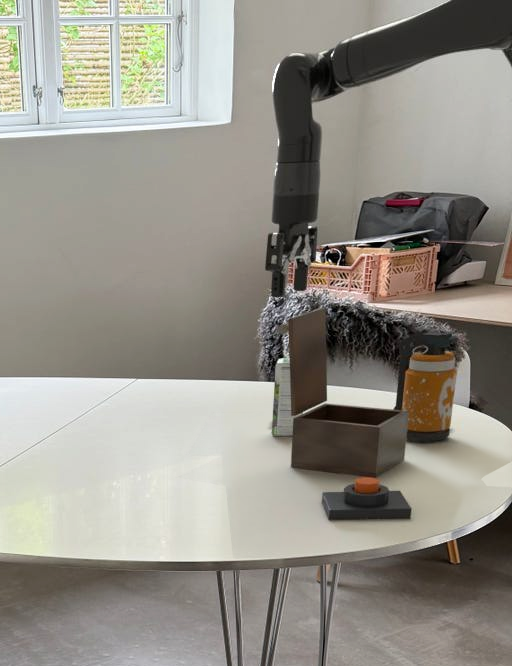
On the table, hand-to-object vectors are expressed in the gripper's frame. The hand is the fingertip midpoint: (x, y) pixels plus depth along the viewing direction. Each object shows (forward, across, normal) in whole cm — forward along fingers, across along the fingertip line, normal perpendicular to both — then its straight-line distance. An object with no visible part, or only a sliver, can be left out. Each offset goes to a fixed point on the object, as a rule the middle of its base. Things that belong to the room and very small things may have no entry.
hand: (289, 293), depth 167 cm
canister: (+29, +23, -18) cm, 41 cm away
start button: (+25, -22, -26) cm, 43 cm away
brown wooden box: (+29, +1, -13) cm, 32 cm away
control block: (+28, -22, -26) cm, 45 cm away
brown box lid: (+11, +1, -5) cm, 12 cm away
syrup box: (+30, +16, +6) cm, 34 cm away
